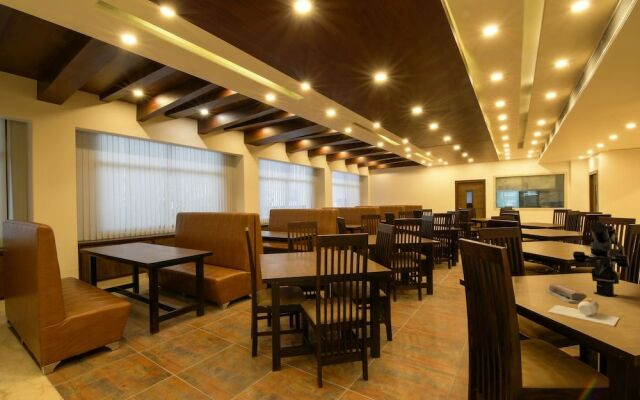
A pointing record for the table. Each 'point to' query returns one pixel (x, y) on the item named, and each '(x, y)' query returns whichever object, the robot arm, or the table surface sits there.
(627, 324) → the table surface
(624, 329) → the table surface
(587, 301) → the supplement bottle
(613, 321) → the rubber mat
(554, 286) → the packaged product
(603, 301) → the table surface
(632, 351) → the table surface
